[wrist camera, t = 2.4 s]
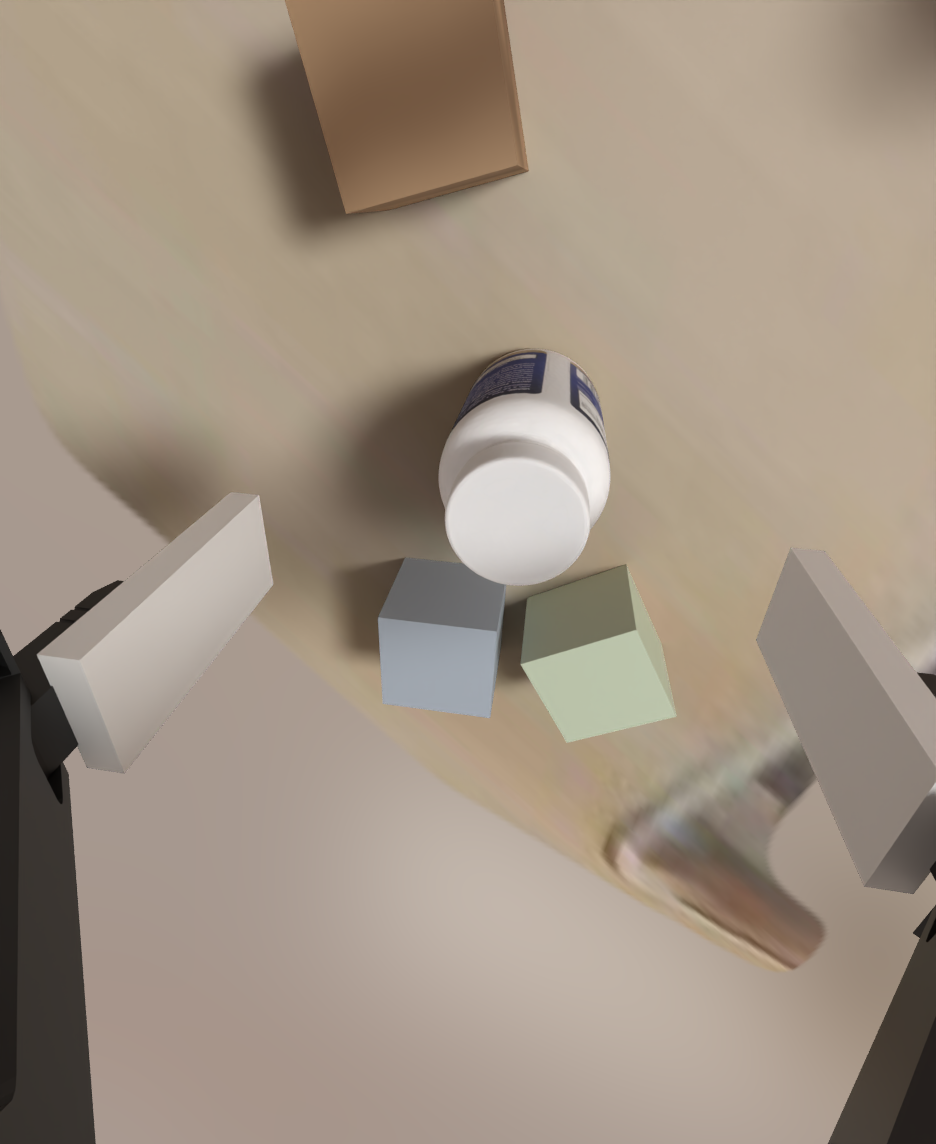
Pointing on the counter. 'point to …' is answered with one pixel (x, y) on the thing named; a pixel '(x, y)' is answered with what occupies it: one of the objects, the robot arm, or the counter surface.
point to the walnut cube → (411, 96)
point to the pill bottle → (525, 468)
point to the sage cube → (596, 656)
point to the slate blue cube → (441, 638)
